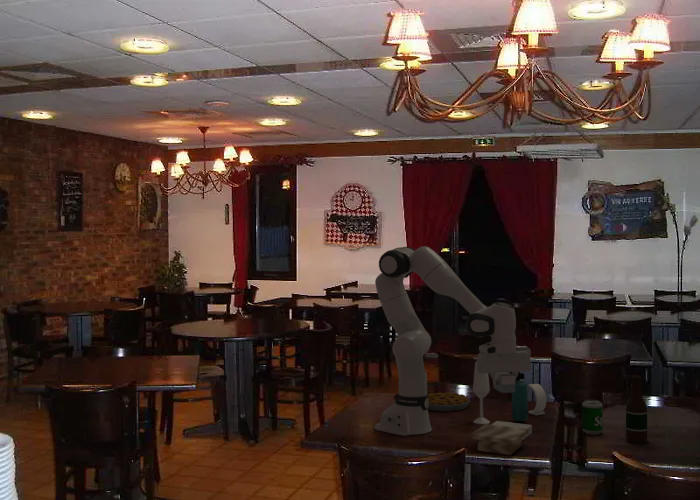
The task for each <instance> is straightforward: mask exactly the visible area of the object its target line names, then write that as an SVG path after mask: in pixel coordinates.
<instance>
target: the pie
mask: <svg viewBox="0 0 700 500" xmlns="http://www.w3.org/2000/svg"><path fill="white" fill-rule="evenodd" d="M427 394H428V400H429V405H428V411H429V410H430V411H433V412H457V411H461V410H465V409H467V407H468V406H469V405H468V404H470V403H471V399H470V397H469V396H468V395H465V394H463V393H461V394H459V393H458V392H454V393H453V392H449V391H445V392H441V391H437V392H436V393H433V392H429V393H427Z"/></svg>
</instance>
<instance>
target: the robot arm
mask: <svg viewBox="0 0 700 500" xmlns="http://www.w3.org/2000/svg"><path fill="white" fill-rule="evenodd" d="M378 268H379V271H380V272H381V273H380V274H378V275H377V277H376V278H375V281H374V284H375V288H376V293H377V296H378V300H379V302H380V305H381V307H382V310H383V312H384V315H385V318H386V319H387V323H389V325H390V326H391V327H392V329H394V331H395V333H396V335H397V337H396V338H395V340H394V341H393V344H392V354H393V355H394V357H395V363H396V367H397V373H398V393H396V394H395V395H394V396H393V397H392V400H394V402H393V403H392V404H391V405H390V406H389V407H388V408H386V409H385V410H384V411H382V413H381V416H380V420H379V421H380V422H378V423H376V424H375V426H374V430H375V431H380V432H385V433H388V434H394V435H397V436H402V437H403V436H411V435H412V436H413V435H423V434H427V433H430V432H431V431H433V429H432V425H431V422H430V416H429V409H428V405H429V400H428V394H429V393H428V374H427V371H426V369H425V368H426V367H425V363H424V355H426V354H427V353H428V352H429V350H430V348H431V346H432V337H431V335H430V333H429V332H428V331H427V330H426V329H425V327H424V326H423V323H422V322H421V321H420V318H419V317H418V316H417V314H416V312H415V309H414V307H413V304H412V302H411V300H410V298H409V295H408V293H407V291H406V288H405V284H404V279H405V278H406V279H407V278H409V276H410V275H412V273H415V274H417V275H418V276H419V277H420V279H421V280H422V281H423V282H424V284H425V285H427V286H428V288H430V289H431V291H433V292H434V293H436V294H439V295H443V296H447V297H450V298H452V299H454V300H456V301H457V302H458V303H459V304H460V305H461V306H462V307H463V308H464V309H465V310H466V311H467V312H468V314H470V315H469V316H467V317H466V320H465V329H466V331H467V332H468V334H469V335H470V336H473V337H475V338H483V337H488V336H489V337H491V341H489V342H486V343H484V344H481V345H479V346H478V351H479V353H478V354H477V356H476V362H477V364H476V369H477V371H478V372H479V373H481V374H482V373H488V374H489V376H490V377H491V379H492V384H493V385H498V380H497V379H495V377H494V376H495V373H504V372H509V373H511V374H512V375H514V376H515V380H517V379H516V378H517V376H518V373H523V372H530V371H531V370H532V362H531V361H532V360H531V355H532V354H531V353H532V351H531V348H530V347H528V346H527V345H522V346H519V345H517V336H516V330H517V329H516V328H517V317H516V312H515V308H514V306H512V305H511V304H509V303H505V302H501V301H500V302H499V301H498V302H494V303H492V304H491V305H490V306H488V305H486V304H485V303H483V302H482V301H481V299H480V298H479V297H477V296H476V294H475V293H474V292H472V290H470V288H468V287H467V286H466V284H464V283H463V281H462V280H461V278H459V276H458V275H457V274H456V272H454V270H453V269H452V268H451V266H449V264H448V263H447V262H446V261H445V259H443V258H442V256H440V255H439V254H438V253H437V252H436V251H434V250H433V249H432V248H431V247H429V246H424V245H423V246H419V247H418V248H417V249H415V248H413V247H410V246H402V247H395V248H393V249H389V250H387V251H385V252H383V254H382V255H381V256H380V258H379V260H378ZM493 385H492V386H493Z"/></svg>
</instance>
